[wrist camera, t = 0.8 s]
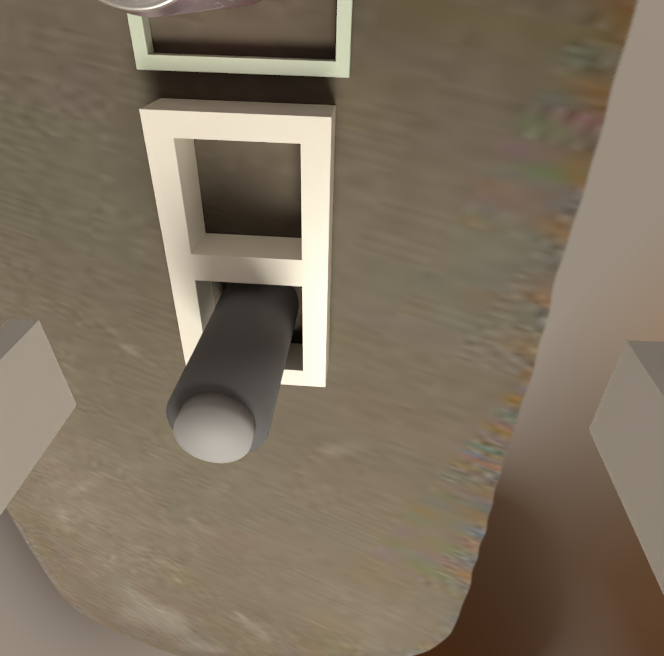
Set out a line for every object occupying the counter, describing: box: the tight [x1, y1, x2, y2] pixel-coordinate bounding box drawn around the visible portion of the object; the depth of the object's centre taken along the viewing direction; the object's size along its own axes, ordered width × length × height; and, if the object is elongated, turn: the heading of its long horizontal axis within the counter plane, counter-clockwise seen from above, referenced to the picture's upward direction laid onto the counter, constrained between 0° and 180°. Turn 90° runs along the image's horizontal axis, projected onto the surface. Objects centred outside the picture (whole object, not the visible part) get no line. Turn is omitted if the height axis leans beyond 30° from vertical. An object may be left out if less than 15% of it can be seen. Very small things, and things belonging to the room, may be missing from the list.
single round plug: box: [166, 282, 299, 463], centre depth 33 cm, size 6×6×14 cm
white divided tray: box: [139, 98, 336, 387], centre depth 35 cm, size 20×11×4 cm, turn 179°
